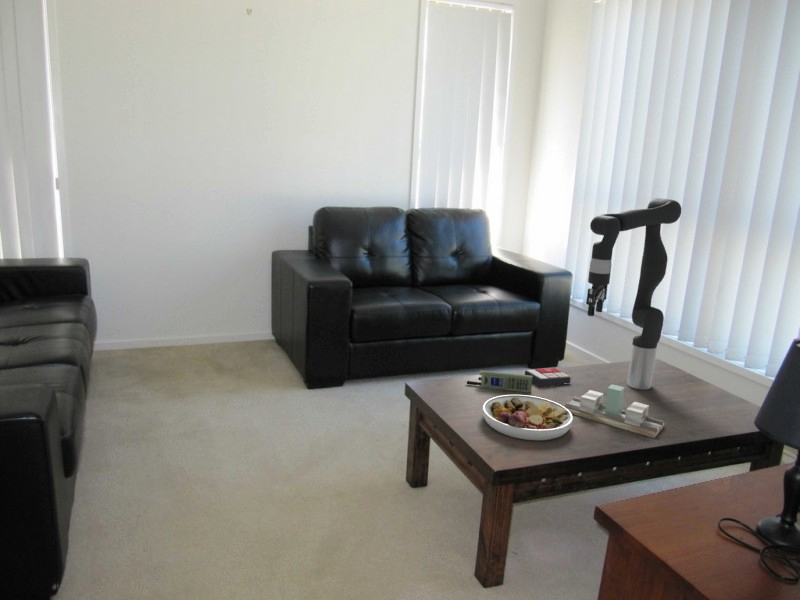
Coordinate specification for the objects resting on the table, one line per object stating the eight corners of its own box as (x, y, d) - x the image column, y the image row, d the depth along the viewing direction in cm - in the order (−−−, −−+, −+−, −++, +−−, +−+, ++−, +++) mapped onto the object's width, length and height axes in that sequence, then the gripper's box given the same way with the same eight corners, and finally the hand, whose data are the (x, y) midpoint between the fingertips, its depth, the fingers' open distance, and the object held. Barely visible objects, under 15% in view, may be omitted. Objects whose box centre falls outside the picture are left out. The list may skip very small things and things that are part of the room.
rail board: (575, 401, 237) (577, 385, 235) (664, 426, 218) (666, 408, 217) (562, 411, 227) (564, 393, 226) (654, 437, 209) (657, 419, 207)
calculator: (571, 375, 255) (540, 377, 249) (569, 386, 256) (539, 388, 250) (554, 367, 265) (525, 368, 259) (553, 376, 266) (523, 378, 260)
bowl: (497, 401, 235) (499, 381, 233) (579, 419, 222) (581, 398, 220) (469, 430, 208) (470, 408, 207) (560, 453, 196) (562, 429, 194)
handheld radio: (531, 394, 243) (466, 387, 247) (530, 391, 246) (466, 384, 250) (532, 377, 242) (467, 370, 246) (532, 375, 245) (468, 368, 249)
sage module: (608, 410, 225) (611, 384, 223) (621, 414, 223) (624, 387, 221) (604, 414, 222) (607, 387, 220) (617, 417, 219) (620, 390, 217)
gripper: (603, 274, 222) (597, 319, 226) (616, 270, 234) (611, 312, 237) (582, 271, 227) (577, 315, 230) (596, 267, 238) (591, 308, 242)
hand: (594, 313), depth 234 cm, fingers open, 8 cm apart
